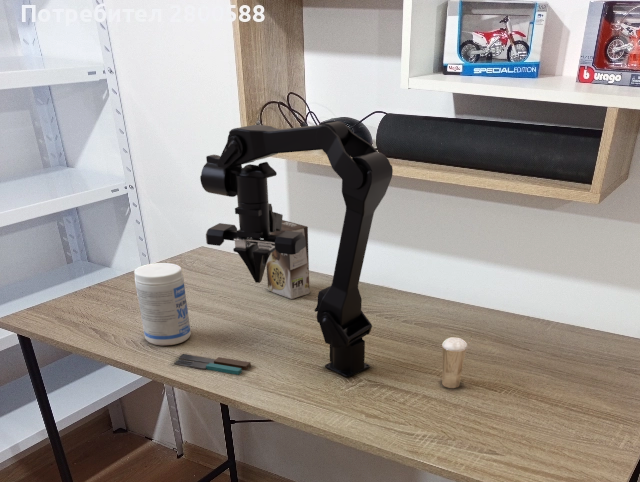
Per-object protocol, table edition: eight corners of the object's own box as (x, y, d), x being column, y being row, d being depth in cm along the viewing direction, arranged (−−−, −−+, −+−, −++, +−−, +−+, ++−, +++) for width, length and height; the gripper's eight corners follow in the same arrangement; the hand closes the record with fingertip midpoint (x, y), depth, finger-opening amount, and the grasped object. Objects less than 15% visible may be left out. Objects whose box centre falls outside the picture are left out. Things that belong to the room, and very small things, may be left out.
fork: (242, 371, 132) (242, 367, 132) (238, 375, 131) (237, 371, 130) (179, 360, 136) (178, 356, 135) (173, 364, 134) (173, 360, 134)
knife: (250, 366, 134) (250, 362, 134) (246, 370, 133) (245, 366, 132) (183, 354, 138) (182, 350, 137) (178, 359, 136) (177, 354, 136)
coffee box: (310, 293, 168) (309, 226, 159) (291, 299, 164) (288, 231, 155) (286, 284, 173) (283, 218, 164) (266, 290, 169) (262, 223, 160)
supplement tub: (192, 344, 142) (183, 275, 134) (145, 349, 140) (133, 279, 132) (189, 327, 150) (180, 260, 142) (144, 331, 148) (132, 263, 139)
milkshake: (460, 393, 126) (466, 343, 120) (434, 386, 128) (438, 336, 123) (470, 384, 129) (476, 334, 124) (445, 376, 132) (449, 328, 126)
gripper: (315, 195, 132) (316, 275, 140) (228, 187, 136) (235, 264, 145) (292, 209, 123) (295, 293, 132) (200, 199, 128) (209, 281, 136)
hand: (258, 282), depth 136 cm, fingers closed
